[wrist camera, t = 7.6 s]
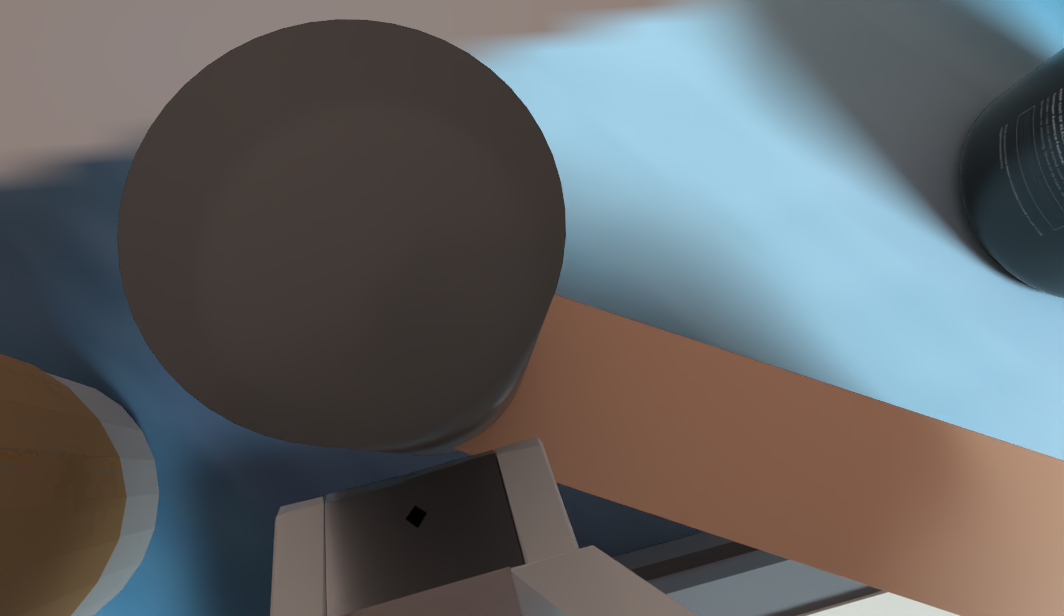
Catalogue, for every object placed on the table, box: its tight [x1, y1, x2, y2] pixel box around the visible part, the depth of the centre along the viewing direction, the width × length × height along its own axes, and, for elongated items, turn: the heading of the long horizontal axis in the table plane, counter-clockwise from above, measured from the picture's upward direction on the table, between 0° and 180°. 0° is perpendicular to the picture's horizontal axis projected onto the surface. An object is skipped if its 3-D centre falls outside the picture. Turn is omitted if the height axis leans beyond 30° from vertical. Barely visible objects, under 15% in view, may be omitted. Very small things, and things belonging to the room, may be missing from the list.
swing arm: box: [118, 20, 1064, 616], centre depth 10 cm, size 18×3×8 cm, turn 72°
